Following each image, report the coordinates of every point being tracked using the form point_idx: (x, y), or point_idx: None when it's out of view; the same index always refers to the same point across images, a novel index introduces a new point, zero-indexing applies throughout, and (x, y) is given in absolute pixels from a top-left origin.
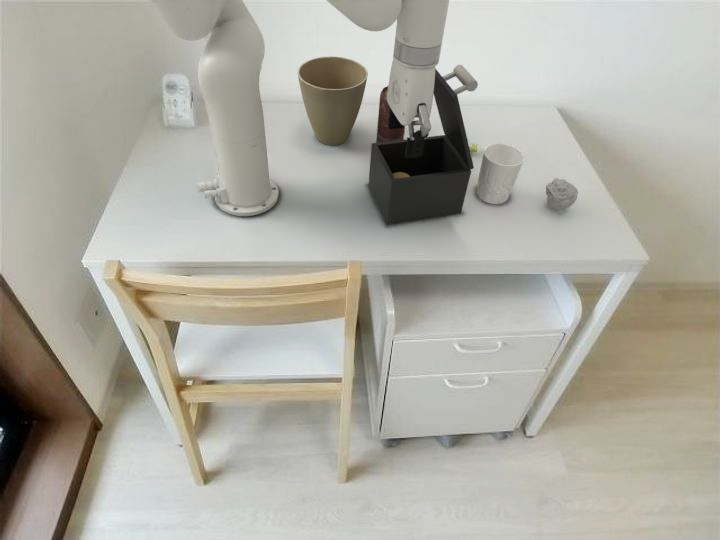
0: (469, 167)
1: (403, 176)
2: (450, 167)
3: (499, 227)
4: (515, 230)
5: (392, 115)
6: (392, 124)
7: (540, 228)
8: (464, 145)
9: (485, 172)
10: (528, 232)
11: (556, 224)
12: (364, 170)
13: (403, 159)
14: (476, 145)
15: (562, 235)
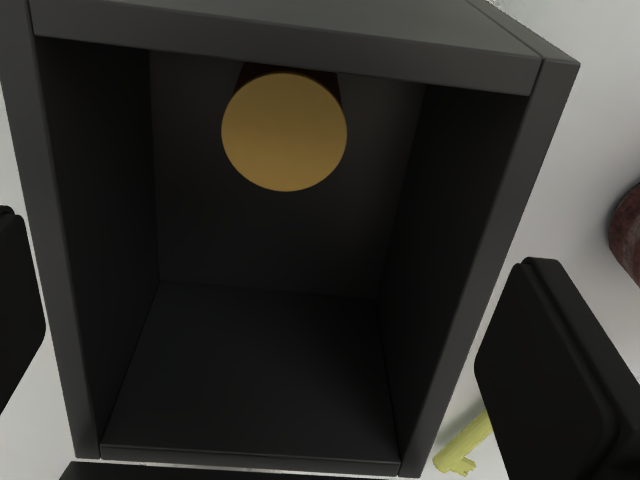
0: (64, 472)
1: (295, 158)
2: (262, 380)
3: (54, 353)
4: (34, 383)
5: (574, 390)
6: (525, 312)
7: (38, 438)
8: None
9: (190, 465)
10: (21, 407)
11: (52, 473)
12: (594, 26)
13: (432, 222)
14: (460, 472)
15: (3, 465)
